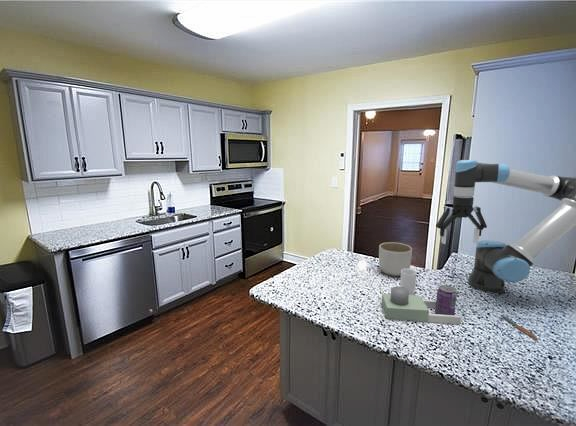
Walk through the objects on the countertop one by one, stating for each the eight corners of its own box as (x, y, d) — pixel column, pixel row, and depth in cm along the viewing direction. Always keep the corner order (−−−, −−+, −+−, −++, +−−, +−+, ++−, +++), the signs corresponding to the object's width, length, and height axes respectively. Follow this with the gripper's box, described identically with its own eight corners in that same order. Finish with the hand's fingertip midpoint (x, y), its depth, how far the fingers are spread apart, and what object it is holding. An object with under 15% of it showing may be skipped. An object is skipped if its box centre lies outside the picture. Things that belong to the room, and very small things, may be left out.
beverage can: (452, 311, 121) (455, 285, 119) (455, 321, 115) (459, 293, 112) (433, 309, 124) (436, 283, 121) (436, 318, 117) (439, 291, 114)
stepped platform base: (448, 307, 124) (450, 286, 122) (460, 324, 113) (463, 301, 110) (381, 303, 129) (382, 282, 127) (386, 319, 117) (387, 296, 115)
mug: (416, 299, 132) (418, 274, 129) (401, 298, 133) (403, 274, 130) (410, 288, 142) (412, 266, 139) (396, 288, 143) (397, 265, 140)
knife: (495, 313, 118) (501, 313, 118) (494, 315, 118) (501, 315, 119) (533, 339, 102) (540, 338, 102) (532, 341, 102) (540, 341, 102)
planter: (383, 264, 172) (384, 240, 169) (413, 270, 162) (415, 245, 159) (373, 274, 159) (374, 248, 155) (405, 282, 149) (407, 254, 146)
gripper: (489, 194, 126) (484, 240, 130) (430, 195, 129) (427, 240, 133) (499, 197, 119) (494, 245, 123) (436, 198, 122) (433, 245, 126)
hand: (459, 243), depth 128 cm, fingers open, 13 cm apart
